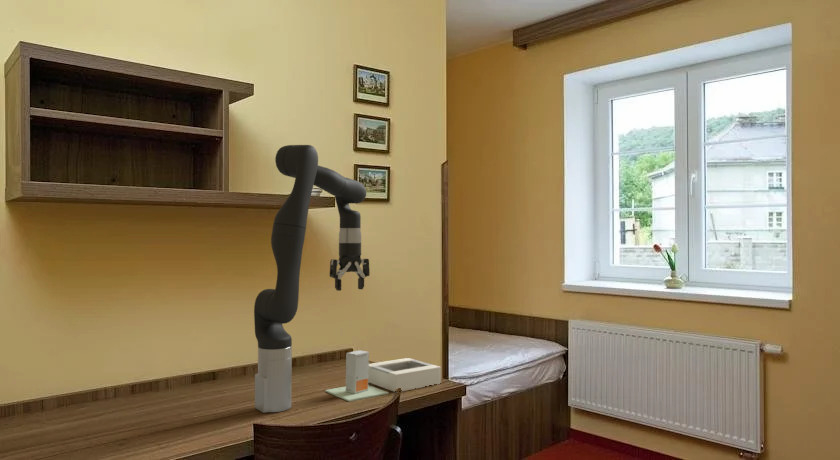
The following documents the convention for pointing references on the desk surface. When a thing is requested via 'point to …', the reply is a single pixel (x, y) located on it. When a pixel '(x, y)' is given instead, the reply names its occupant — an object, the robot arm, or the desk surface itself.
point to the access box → (403, 374)
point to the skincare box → (357, 371)
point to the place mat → (349, 396)
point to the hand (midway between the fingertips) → (349, 289)
